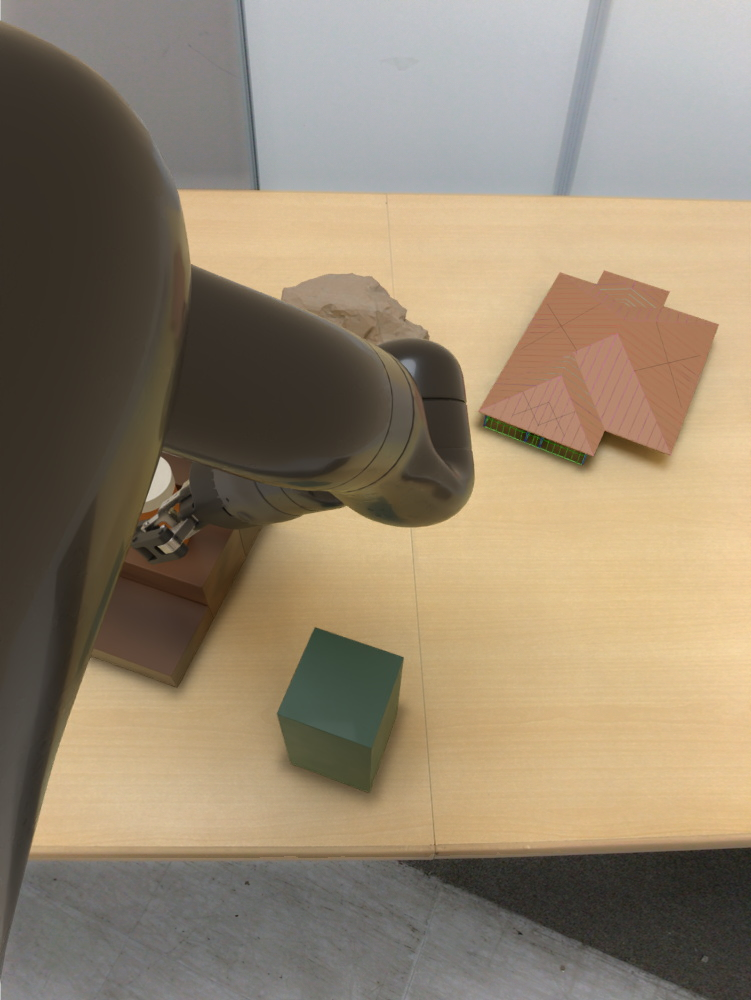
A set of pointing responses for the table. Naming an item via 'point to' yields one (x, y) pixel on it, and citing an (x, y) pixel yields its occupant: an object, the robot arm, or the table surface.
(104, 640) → the riser
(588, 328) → the house
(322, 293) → the decorative stone
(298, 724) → the stand
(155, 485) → the amber bottle
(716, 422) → the table surface
